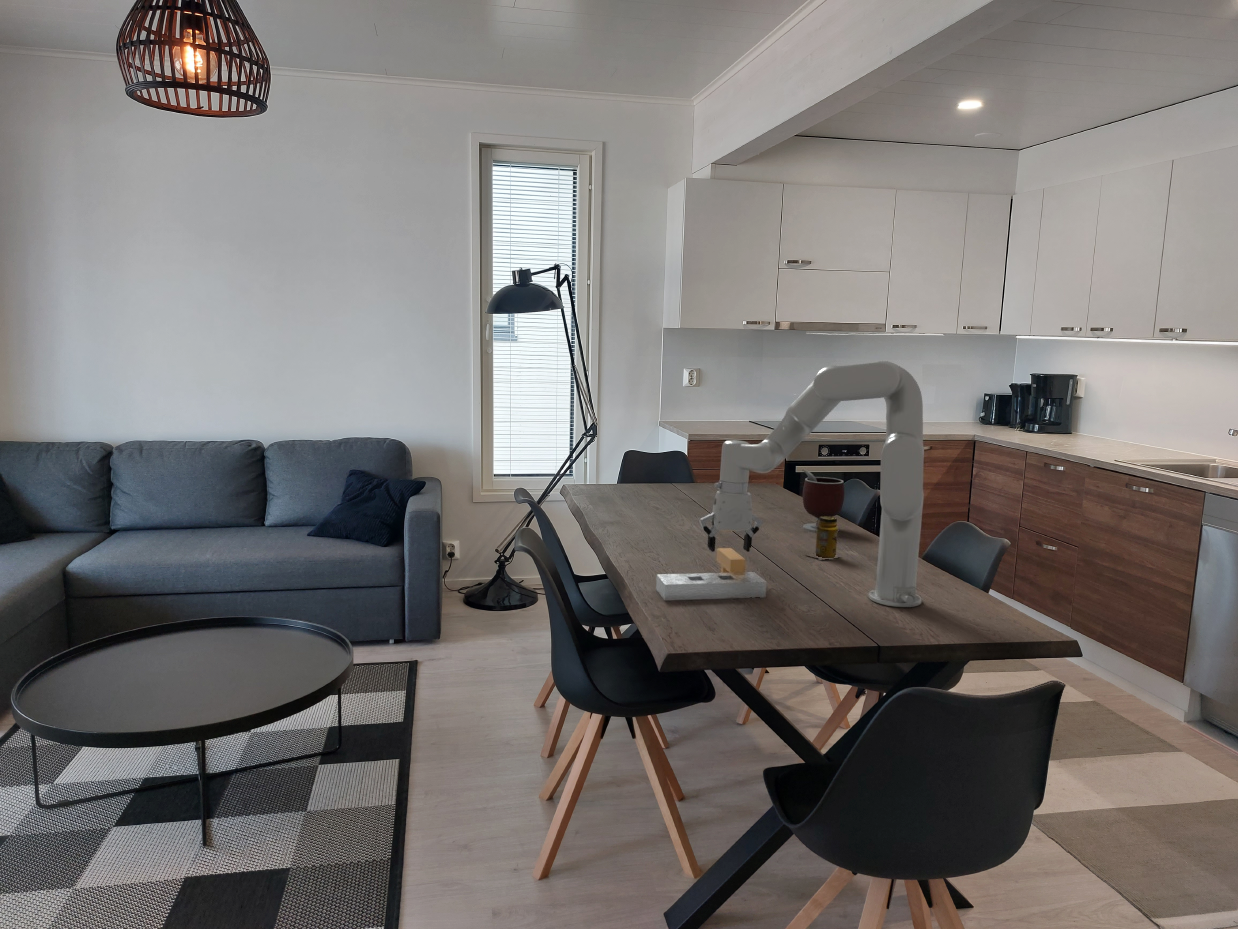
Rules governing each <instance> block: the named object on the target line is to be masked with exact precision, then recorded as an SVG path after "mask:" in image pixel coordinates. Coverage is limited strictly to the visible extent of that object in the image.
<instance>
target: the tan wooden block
mask: <svg viewBox="0 0 1238 929" xmlns="http://www.w3.org/2000/svg"><path fill="white" fill-rule="evenodd" d="M716 562H717V563H718V564H719V565H720V573H734V572H746V559H745V558H744V557H743V556H742V555H740V554H739V553H738V552H737V551H735V550H734V549H733V548H731V547H725V548H723V547H722V548H721V547H720V548H717V549H716Z"/></svg>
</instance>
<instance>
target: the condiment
mask: <svg viewBox="0 0 1238 929" xmlns="http://www.w3.org/2000/svg"><path fill="white" fill-rule="evenodd" d="M837 522H838V518H836V517H835V516H833V517H831V516H821V517H819V524H818V526H817V532H816V537H815V538H816V539H815V552H814V553H816V556H818V557H822V558H834V557H836V556H837V545H838V543H837V541H838V533H839V532H838V528H837V527H838V526H837V525H838V523H837Z"/></svg>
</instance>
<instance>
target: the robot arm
mask: <svg viewBox="0 0 1238 929" xmlns="http://www.w3.org/2000/svg"><path fill="white" fill-rule="evenodd" d="M882 398H883V399H884V402H885V407H886V408H885V409H886V413H885V422H886V423H885V424H886V426H885V428H886V429H885V431H886V432H885V442H884V444H883V447H882V449H881V454H880V481H879V482H880V483H879V484H880V490H879V491H880V492H879V494H880V495H879V498H880V499H879V500H880V506H881V512H880V513H881V515H880V528H879V539H878V550H877V551H878V552H877V565H876V578H875V579H876V580H875V588H874V589H871V590H870V591H868V598H869V600H871V601H873V602H874V603H877V604H880V605H883V606H889V607H896V608H911V607H912V608H914V607H917V606H920V605H921V604H922V597H921V596H920V595H918V594H917V579H918V578H917V577H918V574H917V573H918V564H919V553H920V552H919V550H920V541H921V531H922V521H923V520H922V518H923V507H924V497H925V494H924V456H925V447H924V416H923V415H924V411H923V410H924V409H923V407H924V406H923V405H924V404H923V395H922V391H921V388H920V386H919V383H918V382H917V380H916V379H915V378H914V375H912V374H911V373H910V372H909V371H907V370H906V369H905V368H903V367H901V366H900V365H899V364H896V363H894V362H891V361H888V360H881V361H876V362H867V363H859V364H851V365H850V364H847V365H829V366H825V367H823V368H822V369H820V370H819V371H818V372H817V373H816V375H815V376H814V378H813V381H812V382H811V383H810V384H809V385H808V386H807V387H806V388H805V389H804V390H803V392H802V393H801V394H800V395H799V396H798V397H797V398H796V399H794V401H793V402H792V403H791V404H790V405H789V407H788V409H787V410H786V412H785V414H784V416H783V418H782V419H781V421H780V422H779V423H778V424H777V425H776V427H775V428H773V430H772V431H771V432H770V433H769V434H768V435H767V437H766V438H764V439H763V440H762V441H761V442H760V443H758V444H750V442H748V441H744V440H739V439H738V440H736V439H735V440H734V439H730V440H726V441H723V443H722V445H721V446H722V447H721V458H720V470H719V471H720V473H719V480H718V482H714V484H713V486H714V487H713V488H714V489H718V490H717V491H716V492H715V493H716V494H715V497H714V501H713V505H712V510H711V511H712V512H711V513H709V514H707V515H705V516H703V517H701V518H699V520H698V521H699V523H700V526H701V528H702V530H703V531H704V532H705V533H706V534H707V548H708V549H709V551H710V552H711V553H712V552H713V553H714V552H715V551H716V539H717V538H716V537H715V535H716V534H717V533H718V532H719V531H720V532H745V534H744V535H743V550H744V551H745V552H750V550H751V548H752V543H753V537H754V536H755V534H756V533H758V531H760V528H761V526H762V525H763V523H764V521H763V520H762V519H760V518H759V517H757V516H755V515H754V514H753V505H752V504H753V503H752V502H753V501H752V494H751V493H750V492H749V478H750V472H755V473H759V474H768V473H770V472H772V471H773V470H774V469H775V468H777V467H778V466H780V465H781V463H783V461H785V459H786V458H787V457H788V456H789V455H790V454H791V453H792V452H793V451H794V450H795V449H796V448H797V447H798V446H799V445H800V443H802V441H803V440H805V438H806V437H808V436H809V435H810V434H811V433H812V432H813V431H814V430H815V429H816V428H817V427H818V426H819V425H820V424H821V423H822V422H823V421H824V419H825V418H827V417H828V416H829V414H830V413H831V412H832V411H833V410H834V409H835V408H836V407H837V406H838V405H839V404H840V403H841V402H847V401H848V402H849V401H859V400H872V399H882ZM709 521H710V522H711V526H710V527H708V524H707V523H708V522H709ZM753 521H754V525H753Z"/></svg>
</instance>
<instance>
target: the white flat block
mask: <svg viewBox="0 0 1238 929" xmlns="http://www.w3.org/2000/svg"><path fill="white" fill-rule="evenodd" d="M655 581H656V582H655V583H656V586H655V591H656V592H657V593H658V594H659V595H660V597H661V598H662V599H663V600H664V601H688V600H690V601H691V600H717V599H718V600H721V599H724V600H725V599H726V600H727V599H748V598H749V599H754V598H755V597H760V598H766V597H767V580H765V579H764V578H762V577H761V576H760V575H758V573H756V572H755V571H748V572H747V571H745V572H734V573H721V572H706V573H705V572H703V573H702V572H701V573H700V572H699V573H696V572H695V573H665V574H663V573H661V574H656V580H655ZM750 597H752V598H750Z"/></svg>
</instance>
